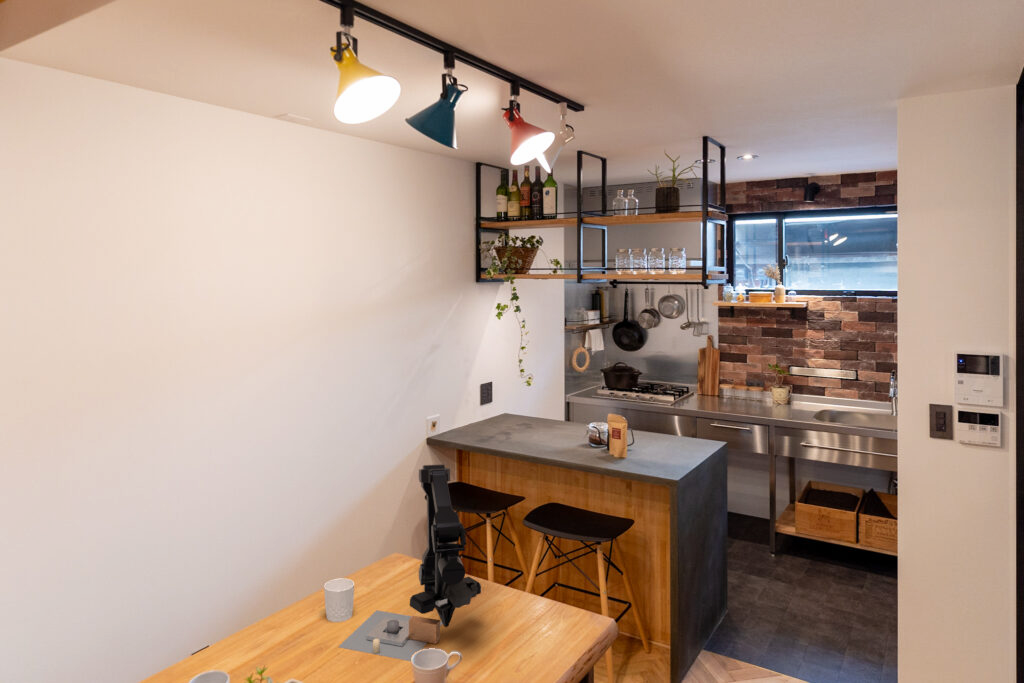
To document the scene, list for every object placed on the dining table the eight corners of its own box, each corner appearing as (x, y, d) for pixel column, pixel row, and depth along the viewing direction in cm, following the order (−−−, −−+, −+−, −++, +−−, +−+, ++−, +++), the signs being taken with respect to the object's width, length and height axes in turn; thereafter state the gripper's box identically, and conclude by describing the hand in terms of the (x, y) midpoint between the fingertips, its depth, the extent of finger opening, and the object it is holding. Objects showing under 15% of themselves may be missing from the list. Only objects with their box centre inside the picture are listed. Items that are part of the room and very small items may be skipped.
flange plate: (366, 639, 172) (366, 620, 172) (384, 620, 182) (384, 602, 181) (429, 651, 167) (430, 632, 167) (445, 631, 177) (445, 613, 176)
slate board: (376, 614, 188) (376, 599, 188) (443, 626, 183) (444, 611, 182) (338, 651, 169) (337, 635, 169) (411, 666, 163) (412, 649, 163)
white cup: (346, 629, 180) (346, 592, 179) (319, 625, 182) (318, 589, 181) (359, 614, 188) (359, 579, 187) (332, 611, 189) (332, 576, 189)
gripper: (434, 589, 162) (433, 651, 163) (494, 568, 174) (493, 627, 176) (408, 573, 170) (408, 633, 172) (468, 554, 183) (467, 610, 184)
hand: (446, 626), depth 176 cm, fingers closed
